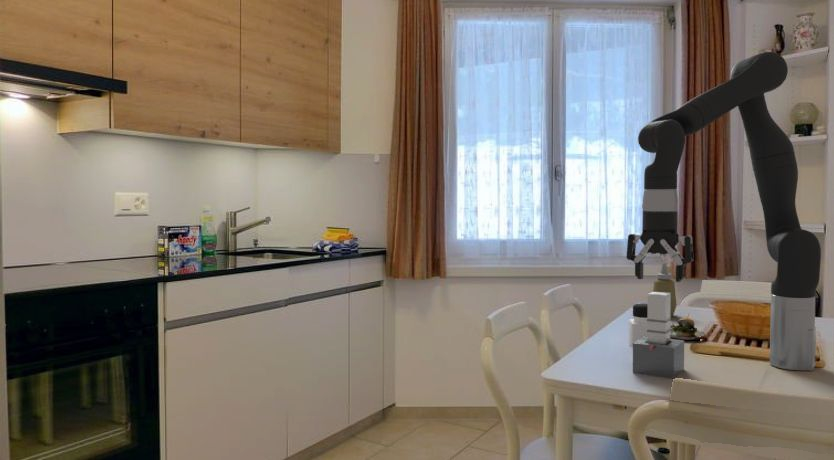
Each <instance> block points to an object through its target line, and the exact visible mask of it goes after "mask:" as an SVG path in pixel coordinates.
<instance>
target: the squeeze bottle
mask: <svg viewBox="0 0 834 460" xmlns="http://www.w3.org/2000/svg"><path fill="white" fill-rule="evenodd" d="M652 286H653V287H652V292H663V293H671V299H670V317H673V316H674V315H675V312H676V308H677V306H678V305H677V296H676V287H675V286H676V285H675V280H673V279H672V273H669V272H668V265H667V262H666V263H665V262H662V263H661V268H660V272H659V273H656V279H655V280H654V281H653V285H652Z"/></svg>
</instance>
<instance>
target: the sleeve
mask: <svg viewBox="0 0 834 460" xmlns="http://www.w3.org/2000/svg"><path fill="white" fill-rule="evenodd" d="M684 370H685V339H677V338H670V344H668V345H660V344H652V343H647V336H644V337H642V338H641V339H639V340H637V341H636V342H634V343H633V347H632V374H640V375H644V376H646V375H647V376H652V377H659V378H665V379H671V380H672V379H673V380H675V378H676V377H678V376H679V375H680V374H681V373H682V372H683V371H684Z"/></svg>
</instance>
